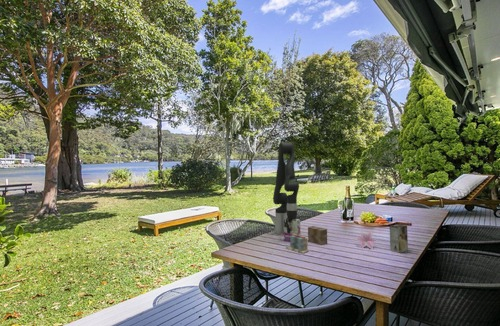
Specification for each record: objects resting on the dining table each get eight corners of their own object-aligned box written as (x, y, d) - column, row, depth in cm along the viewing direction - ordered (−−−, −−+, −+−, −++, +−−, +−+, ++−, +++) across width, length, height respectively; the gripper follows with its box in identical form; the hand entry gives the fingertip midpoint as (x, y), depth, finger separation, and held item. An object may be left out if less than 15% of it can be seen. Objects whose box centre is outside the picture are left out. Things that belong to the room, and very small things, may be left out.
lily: (353, 247, 194) (354, 236, 189) (361, 237, 200) (363, 227, 196) (370, 256, 186) (371, 245, 181) (378, 246, 192) (380, 235, 188)
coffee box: (398, 248, 186) (398, 223, 186) (408, 250, 181) (407, 225, 181) (389, 250, 182) (389, 225, 182) (398, 253, 176) (398, 227, 176)
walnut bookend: (308, 241, 202) (307, 227, 202) (313, 239, 205) (313, 226, 205) (321, 245, 192) (321, 230, 192) (327, 243, 196) (327, 229, 196)
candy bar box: (300, 241, 204) (300, 218, 204) (298, 243, 200) (298, 220, 200) (286, 239, 210) (286, 217, 210) (283, 241, 205) (283, 218, 205)
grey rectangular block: (286, 248, 190) (285, 234, 190) (312, 241, 207) (312, 228, 207) (303, 253, 178) (302, 238, 178) (329, 245, 195) (329, 231, 195)
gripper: (295, 207, 212) (295, 229, 212) (281, 209, 203) (281, 233, 203) (302, 208, 206) (302, 231, 206) (288, 211, 197) (288, 235, 198)
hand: (292, 232), depth 205 cm, fingers closed on candy bar box, 6 cm apart
